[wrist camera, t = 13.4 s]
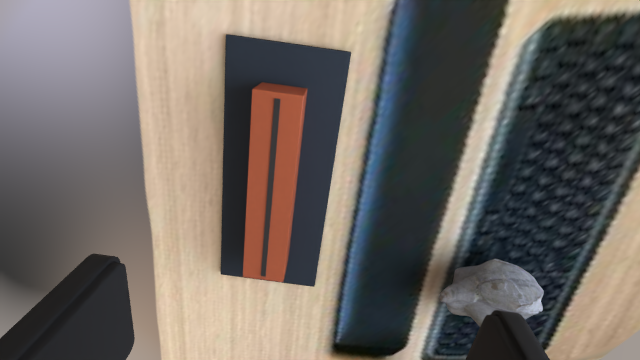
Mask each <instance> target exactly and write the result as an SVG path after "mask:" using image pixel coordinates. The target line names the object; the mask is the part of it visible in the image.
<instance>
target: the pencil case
mask: <svg viewBox="0 0 640 360" xmlns="http://www.w3.org/2000/svg"><path fill="white" fill-rule="evenodd" d="M306 97H307V88H301V87H293V86H286V85H279V84H272V83H265V82H262V83H260V84H259V85H257V86H256V87H255V88H253V89H252V106H251V125H250V145H249V165H248V184H247V204H246V223H245V243H244V262H243V277H247V278H255V279H263V280H270V281H278V282H284V277H285V272H286V267H287V262H288V256H289V248H290V239H291V230H292V221H293V212H294V203H295V195H296V186H297V177H298V168H299V159H300V150H301V141H302V133H303V124H304V115H305V106H306Z"/></svg>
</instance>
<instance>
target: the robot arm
mask: <svg viewBox="0 0 640 360" xmlns="http://www.w3.org/2000/svg"><path fill="white" fill-rule="evenodd" d="M133 344H134V330H133V322H132V315H131V306H130V298H129V290H128V282H127V274H126V268H125V265H124V264H122V263H120V260H119V258H118V257H115V256H107V255H99V254H91V255H90V256H88V257H87V258H86V259H85V260H84V261H83V262H82V263H80V264H79V265H78V266H77V267H76V268H75V269H74V270H73V271H72V272H71V273H70V274H69V275H68V276H67V277H65V278H64V279H63V280H62V281H61V282H60V283H59V284H58V285H57V286H56V287H55V288H54V289H53V290H52V291H51V292H49V294H47V295H46V296H45V297H44V298H43V299H42V300H41V301H40V302H39V303H38V304H37V305H36V306H35V307H33V308H32V309H31V310H30V311H29V312H28V313H27V314H26V315H25V316H24V317H23V318H22V319H21V320H20V321H18V322H17V323H16V324H15V325H14V326H13V327H12V328H11V329H10V330H9V331H8V332H7V333H6V334H5V335H4V336H2V337H1V339H0V360H126V358H127V357H128V355H129V354H130V352H131V350H132V347H133ZM466 360H550V359H549V358H548V356H547V355H546V353H545V351H544V350H543V348H542V346H541V345H540V343H539V342H538V340H537V338H536V337H535V335H534V334H533V332H532V330H531V329H530V327H529V326H528V324H527V322H526V321H525V319H524V318H523V316H522V315H521V314H519V313H515V312H507V311H500V310H494V311H493V312H492V313H491V315H486V316H485V318H484V320H483V322H482V324H481V327H480V329H479V331H478V333H477V336H476V338H475V340H474V342H473V344H472V347H471V349H470V351H469V353H468V356H467V358H466Z"/></svg>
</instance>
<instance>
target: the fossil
mask: <svg viewBox="0 0 640 360" xmlns="http://www.w3.org/2000/svg"><path fill="white" fill-rule="evenodd" d="M542 296H543V289H542V288H541V287H540V286H539V285H538V283H537V282H536V280H535V278H534V277H533V276H531V274H529V273H528V272H526V271H525V270H523V269H522V268H520V267H518V266H516V265H513V264H510V263H507V262H504V261H502V260H499V259H493V260H489V261H487V262H485V263H483V264H481V265H478V266H468V267H459V268H457V269H456V270H455V273H454V278H453V283H452V284H451V285H449V286H447V287H446V288H445V289H444V290H443V291H442V292H441V294H440V296H439V299H440V301H441V302H445V303H446V305H447V307H448V309H449V311H450V312H452V313H454V314H457V315H466V316H470V317H472V318H473V319H474V321H475V322H476V323H477V324H478V325H479V326H480V327H481V324H482V322H483V320H484V318H485V316H486V315H491V313H492V312H493V311H494V310H500V311H507V312H515V313H519V314H521V315H522V316H523V318H524V319H526V318H528V317H530V316H532V315H534V314H538V312H541V311H542V310H543V307H542V304H541V299H542Z"/></svg>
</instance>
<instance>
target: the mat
mask: <svg viewBox="0 0 640 360" xmlns="http://www.w3.org/2000/svg"><path fill="white" fill-rule="evenodd" d="M350 56H351V52H348V51H341V50H333V49H326V48H319V47H312V46H305V45H298V44H291V43H284V42H277V41H270V40H263V39H256V38H249V37H242V36H235V35H226V57H225V103H224V149H223V195H222V241H221V274H223V275H230V276H238V277H243V262H244V243H245V223H246V204H247V184H248V165H249V145H250V125H251V106H252V89H253V88H255V87H256V86H257V85H259V84H260V83H262V82H265V83H272V84H279V85H286V86H293V87H301V88H307V97H306V106H305V115H304V124H303V133H302V141H301V150H300V159H299V168H298V177H297V186H296V195H295V203H294V212H293V221H292V230H291V239H290V248H289V256H288V262H287V267H286V272H285V277H284V282H283V283H291V284H298V285H306V286H313V287H314V285H315V279H316V273H317V266H318V260H319V254H320V247H321V241H322V234H323V228H324V222H325V215H326V209H327V203H328V196H329V190H330V183H331V177H332V171H333V164H334V158H335V152H336V145H337V139H338V132H339V126H340V120H341V113H342V107H343V101H344V94H345V88H346V81H347V75H348V69H349V62H350ZM245 278H247V277H245ZM253 279H255V278H253ZM260 280H263V279H260ZM268 281H270V280H268ZM275 282H278V281H275Z"/></svg>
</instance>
